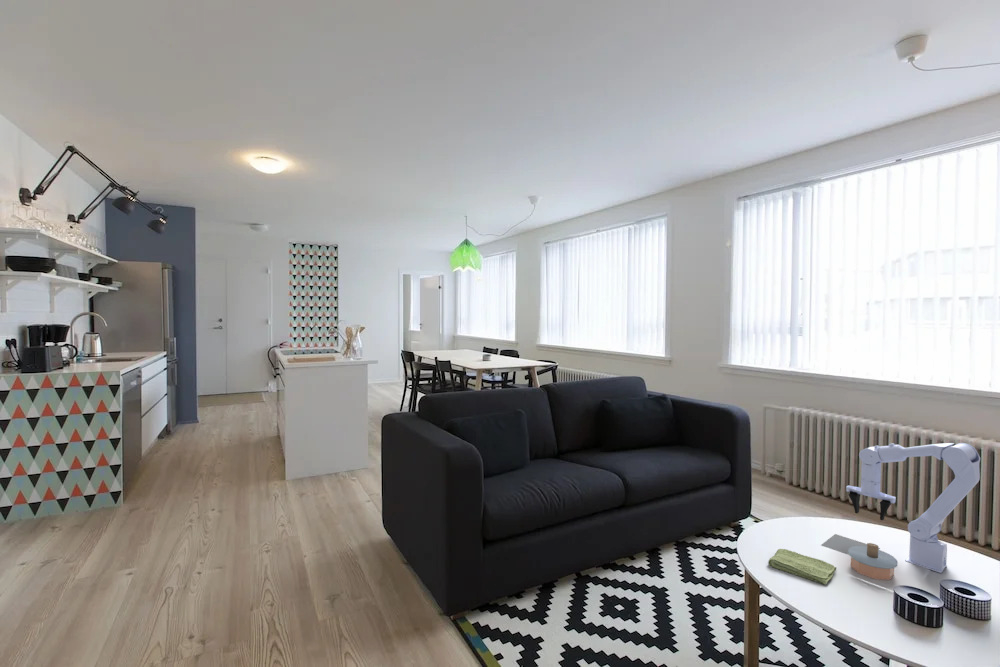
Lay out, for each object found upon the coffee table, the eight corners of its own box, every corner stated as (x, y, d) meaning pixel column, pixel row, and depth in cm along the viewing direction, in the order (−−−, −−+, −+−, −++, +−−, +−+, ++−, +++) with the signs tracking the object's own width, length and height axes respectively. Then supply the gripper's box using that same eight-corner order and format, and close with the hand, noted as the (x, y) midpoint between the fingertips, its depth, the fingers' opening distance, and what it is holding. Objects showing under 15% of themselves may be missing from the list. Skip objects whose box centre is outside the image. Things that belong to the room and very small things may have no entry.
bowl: (896, 572, 161) (897, 559, 161) (886, 584, 155) (887, 570, 154) (858, 559, 170) (858, 547, 169) (847, 569, 163) (847, 556, 163)
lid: (901, 559, 161) (902, 546, 161) (891, 573, 153) (892, 559, 153) (854, 544, 171) (855, 532, 171) (842, 557, 163) (843, 544, 163)
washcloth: (828, 588, 153) (828, 578, 153) (766, 567, 166) (766, 558, 166) (837, 572, 163) (837, 562, 163) (778, 553, 175) (778, 544, 175)
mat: (879, 549, 177) (879, 548, 177) (866, 561, 168) (866, 560, 168) (835, 534, 188) (835, 533, 188) (820, 546, 179) (821, 545, 179)
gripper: (843, 476, 183) (842, 512, 184) (892, 488, 172) (890, 525, 172) (850, 472, 187) (849, 507, 188) (897, 483, 176) (896, 520, 177)
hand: (869, 515), depth 181 cm, fingers open, 7 cm apart
